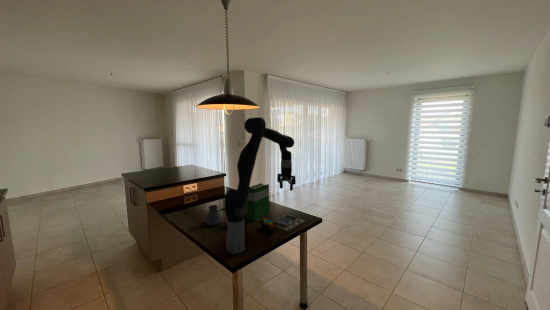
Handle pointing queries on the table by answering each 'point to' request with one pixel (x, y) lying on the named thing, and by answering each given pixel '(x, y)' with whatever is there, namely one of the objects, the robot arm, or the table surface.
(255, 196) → the hardback book
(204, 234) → the table surface
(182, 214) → the table surface
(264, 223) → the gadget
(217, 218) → the coffee pot
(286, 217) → the window
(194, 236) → the table surface
